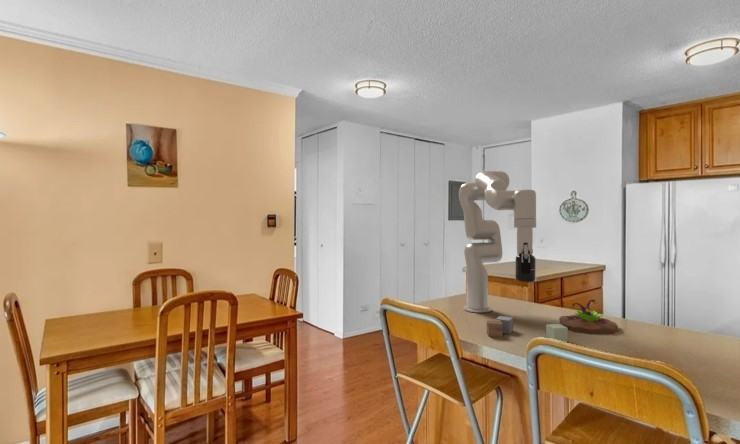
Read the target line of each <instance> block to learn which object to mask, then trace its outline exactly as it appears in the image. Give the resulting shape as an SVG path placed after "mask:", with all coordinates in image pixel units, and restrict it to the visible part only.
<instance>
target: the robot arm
mask: <svg viewBox="0 0 740 444" xmlns="http://www.w3.org/2000/svg"><path fill="white" fill-rule="evenodd" d="M509 185H510V177H509V175H508V173H506V172H505V171H501V170H500V171H496V170H492V171H491V170H490V171H489V170H488V171H487V170H485V171H481V172H479V173H478V174H477V175H476V176H475V179H474V181H473V182H466V183H463V184H461V186H460V187H459V191H458V201H459V203H460V206H461V208H462V212H463V219H464V229H465V231H464V232H465V236H466V238H467V239H468V240H470V241H472V240H473V241H487V242H471V243H468V244H467V245H465V247H464V250H463V252H464V259H465V264H466V265H465V266H466V267H465V268H466V305H463V310H464V311H466V312H471V313H480V314H481V313H483V314H484V313H489V312H492V307H491V306H489V292H488V291H489V290H488V289H489V287H488V286H489V285H488V284H489V281H488V278H489V277H488V276H489V275H488V271H487V268H486V267H485V266H484V264H486V263H487V264H488V263H498V262H500V261H501V260H502V258H503V243H502V235H501V229H500V226H499V224H498V222H497V221H496V220H493V219H484V217H483V211H482V209H481V207H480V206H479V204H478V203H477V202H475V201H485V203H486V204H487V205H488V206H489V207H491V208H492V209H494V210H496V211H513V228H514V229H515V228H516V254H517V255H519V253H521V256H522V262H521V274H530V273H531V263H530V255H531V254H532V255H533V253H532V249H533V244H534V243H533V242H534V241H533V240H534V238H533V237H534V236H533V235H534V231H533V230H534V228H537V192H536V191H535V190H534V189H518V190H507V189H508V187H509ZM523 253H524V254H523Z"/></svg>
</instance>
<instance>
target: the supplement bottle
mask: <svg viewBox="0 0 740 444" xmlns="http://www.w3.org/2000/svg"><path fill="white" fill-rule="evenodd" d="M533 250H534V249H533V248H532V254H531V255H530V263H531V273H530V274H521V262H522V256H521V253H519V255H518V254H517V255H516V256H515V273H514V274H515V281H517V282H522V283H532V282H535V281H536V265H537V261H536V260H537V259H536V257H535V256H534V255H533V253H534V252H533ZM523 254H524V253H523Z"/></svg>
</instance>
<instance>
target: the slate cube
mask: <svg viewBox="0 0 740 444" xmlns="http://www.w3.org/2000/svg"><path fill="white" fill-rule="evenodd" d="M495 320H501V322H502V323H503V334H509V335H510V334H511V333H512V332H513V331H514V317H511V316H510V317H509V316H502V315H499V316H497V317H496V318H495Z"/></svg>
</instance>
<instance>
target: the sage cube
mask: <svg viewBox="0 0 740 444" xmlns="http://www.w3.org/2000/svg"><path fill="white" fill-rule="evenodd" d="M568 333H569V330H568V328H567V327H565V326H563V325H562V324H561V323H551V324H548V323H547V324H546V325H545V338H546V337H547V338H553V339H557V340H561V341H566V342H565V343H568V342H569V335H568ZM547 338H546V339H547Z"/></svg>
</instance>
